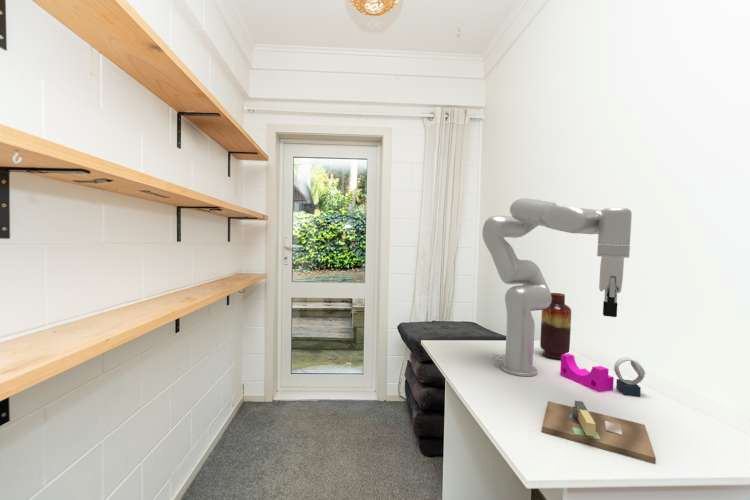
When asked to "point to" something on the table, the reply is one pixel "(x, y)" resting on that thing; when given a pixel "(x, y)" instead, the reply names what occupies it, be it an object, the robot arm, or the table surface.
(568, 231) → the robot arm
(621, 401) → the table surface
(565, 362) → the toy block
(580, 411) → the lever handle
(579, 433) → the wooden lever switch board
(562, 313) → the vase
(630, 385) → the watch
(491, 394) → the table surface
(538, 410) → the table surface
